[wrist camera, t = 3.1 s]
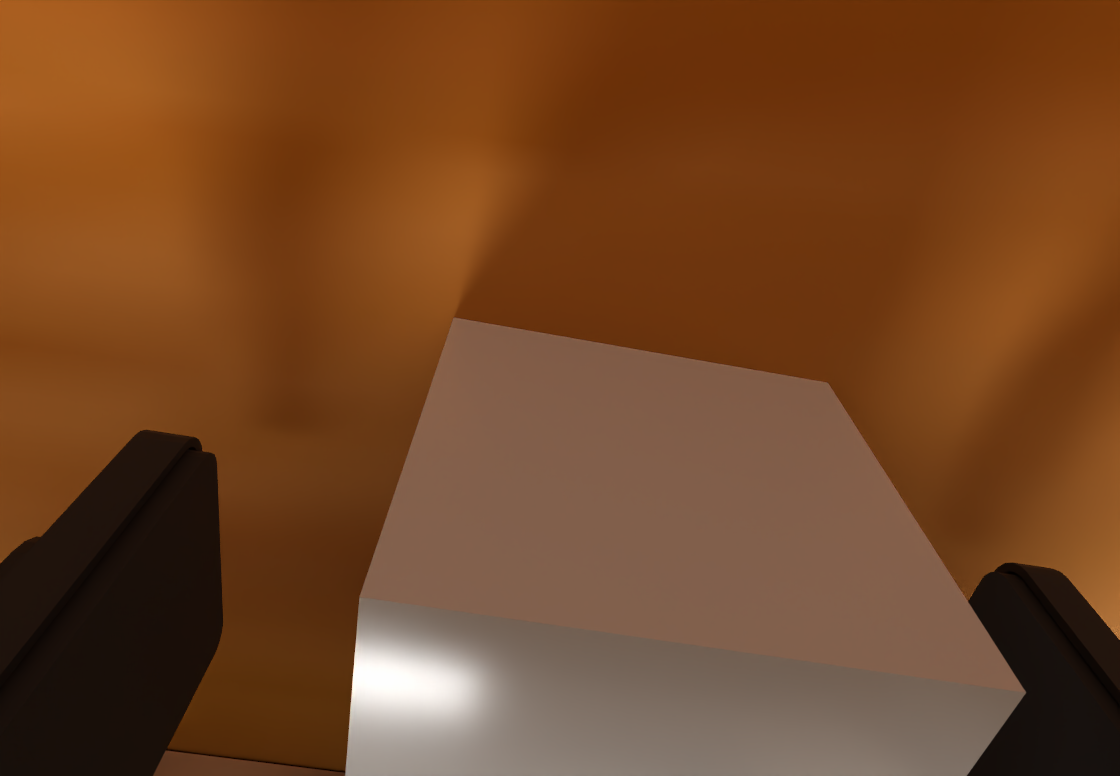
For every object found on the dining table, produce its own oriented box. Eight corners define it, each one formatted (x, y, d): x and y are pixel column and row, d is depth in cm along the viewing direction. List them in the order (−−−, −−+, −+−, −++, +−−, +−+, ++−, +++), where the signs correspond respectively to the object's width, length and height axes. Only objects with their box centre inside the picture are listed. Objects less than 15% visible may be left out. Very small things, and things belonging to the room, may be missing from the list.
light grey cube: (826, 379, 10) (1026, 692, 6) (719, 642, 12) (802, 1006, 8) (454, 314, 10) (359, 596, 5) (417, 597, 12) (330, 956, 8)
